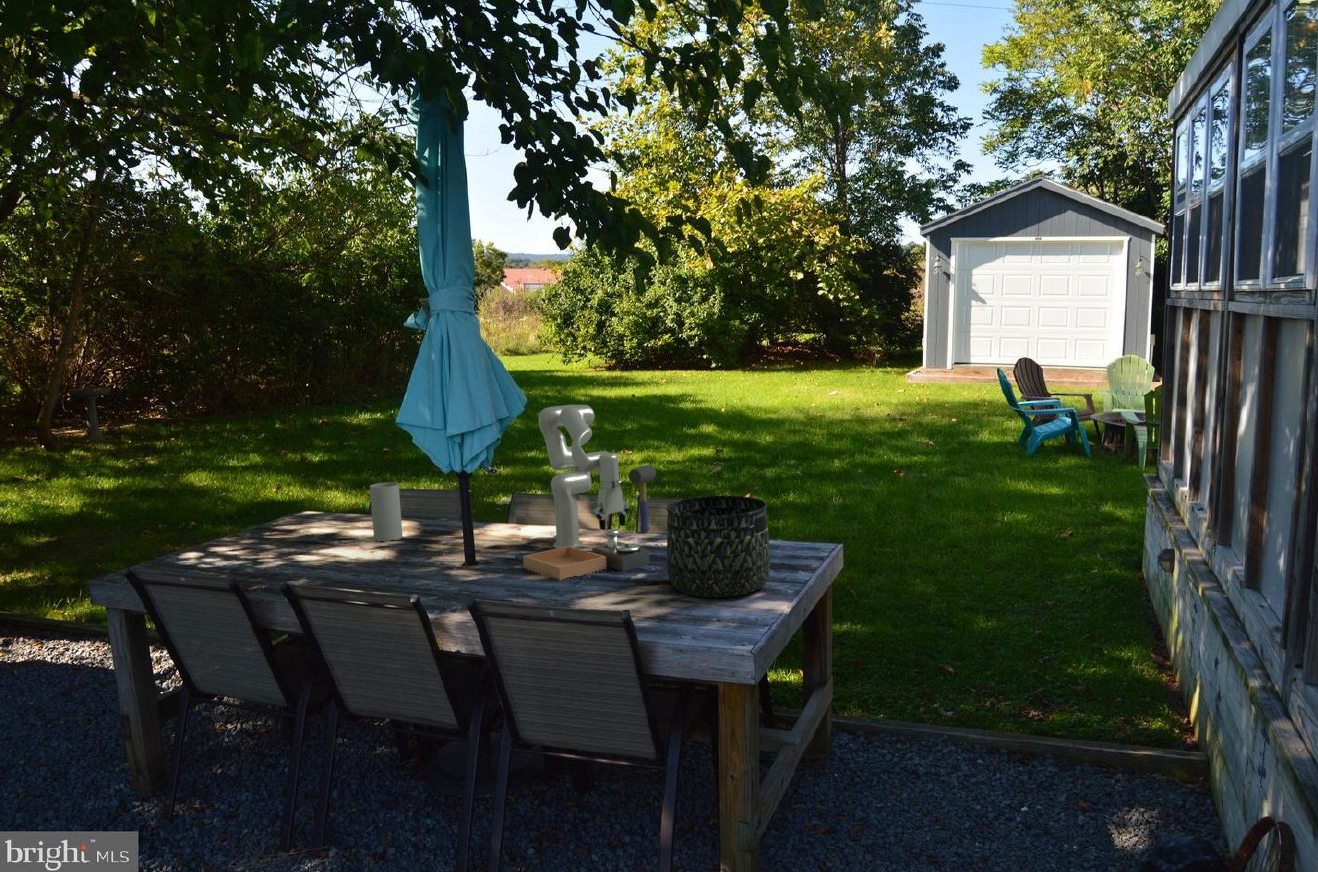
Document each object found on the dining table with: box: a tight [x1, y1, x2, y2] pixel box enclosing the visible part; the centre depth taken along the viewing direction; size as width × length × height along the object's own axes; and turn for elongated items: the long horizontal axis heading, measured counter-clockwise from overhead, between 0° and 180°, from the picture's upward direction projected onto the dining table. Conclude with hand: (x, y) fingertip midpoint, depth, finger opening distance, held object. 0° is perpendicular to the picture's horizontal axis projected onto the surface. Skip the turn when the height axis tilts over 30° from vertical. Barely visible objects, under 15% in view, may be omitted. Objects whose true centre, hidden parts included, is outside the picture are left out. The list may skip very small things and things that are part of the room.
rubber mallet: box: [628, 464, 657, 534], centre depth 455 cm, size 12×8×30 cm, turn 146°
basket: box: [665, 494, 771, 598], centre depth 365 cm, size 37×37×30 cm
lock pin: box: [604, 528, 620, 549], centre depth 408 cm, size 5×5×12 cm
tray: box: [522, 546, 607, 581], centre depth 400 cm, size 26×22×5 cm
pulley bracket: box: [591, 541, 650, 572], centre depth 404 cm, size 20×13×8 cm, turn 39°
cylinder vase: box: [369, 481, 403, 542], centre depth 462 cm, size 12×12×25 cm
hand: (612, 527), depth 407 cm, fingers open, 9 cm apart
